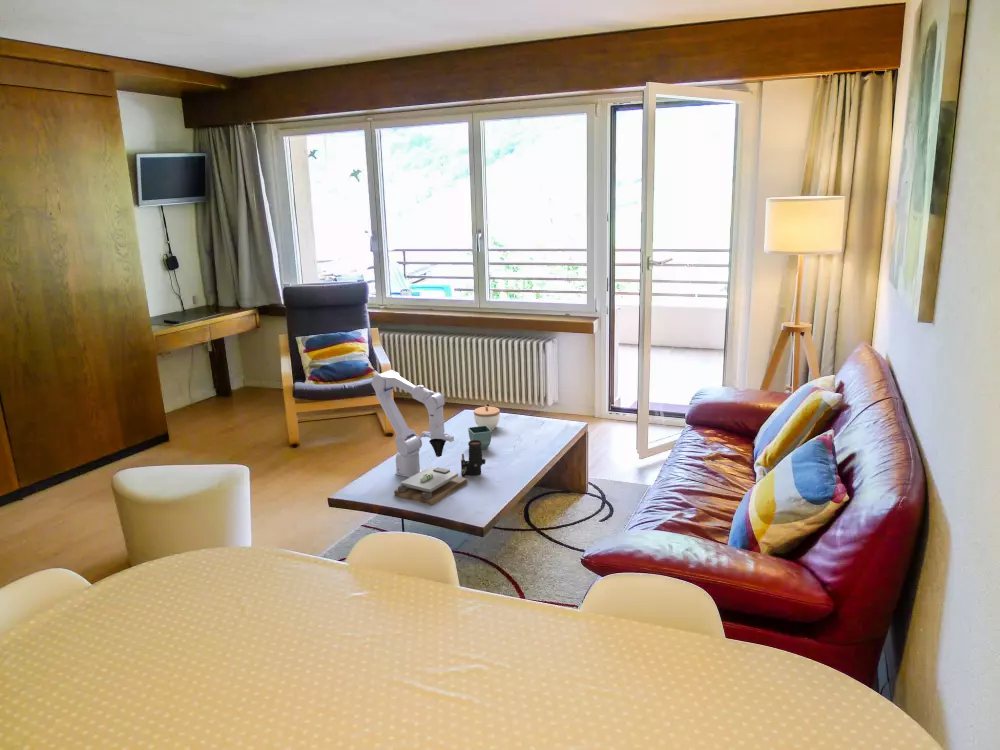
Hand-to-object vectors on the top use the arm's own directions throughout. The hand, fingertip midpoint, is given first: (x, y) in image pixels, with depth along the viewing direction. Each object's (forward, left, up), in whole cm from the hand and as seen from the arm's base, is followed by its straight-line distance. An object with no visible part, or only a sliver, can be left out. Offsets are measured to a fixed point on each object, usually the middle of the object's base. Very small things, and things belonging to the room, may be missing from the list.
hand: (439, 455), depth 283 cm
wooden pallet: (+2, -9, -10) cm, 14 cm away
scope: (+8, +12, -11) cm, 18 cm away
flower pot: (-6, +38, -11) cm, 39 cm away
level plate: (+2, -9, -7) cm, 12 cm away
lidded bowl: (-18, +62, -11) cm, 65 cm away
